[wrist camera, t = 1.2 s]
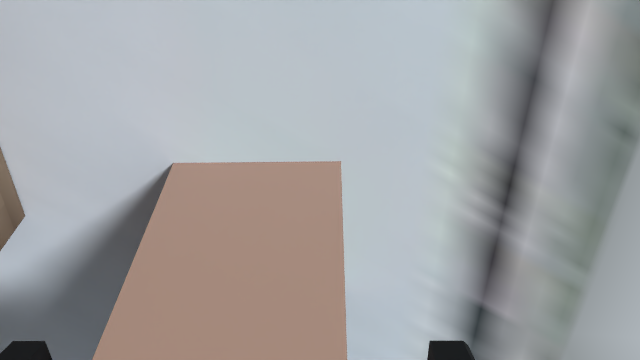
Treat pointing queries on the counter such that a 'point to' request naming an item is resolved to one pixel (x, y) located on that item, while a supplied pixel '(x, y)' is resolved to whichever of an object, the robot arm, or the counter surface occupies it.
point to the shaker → (237, 268)
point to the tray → (8, 204)
